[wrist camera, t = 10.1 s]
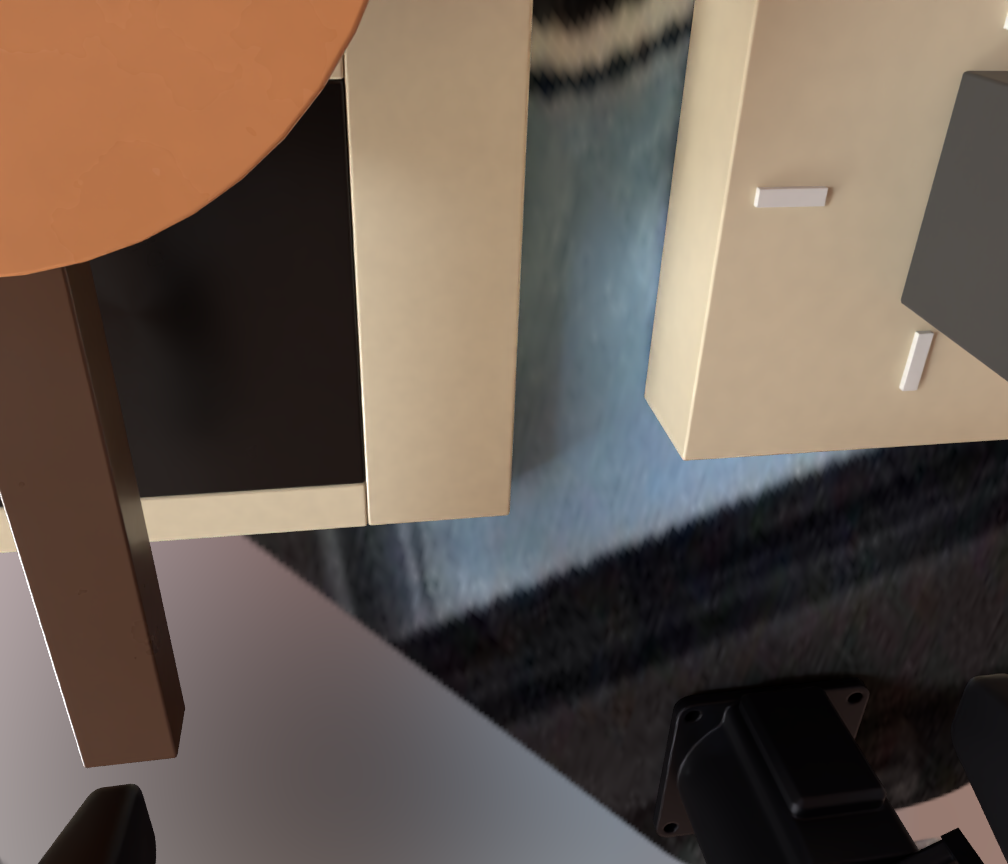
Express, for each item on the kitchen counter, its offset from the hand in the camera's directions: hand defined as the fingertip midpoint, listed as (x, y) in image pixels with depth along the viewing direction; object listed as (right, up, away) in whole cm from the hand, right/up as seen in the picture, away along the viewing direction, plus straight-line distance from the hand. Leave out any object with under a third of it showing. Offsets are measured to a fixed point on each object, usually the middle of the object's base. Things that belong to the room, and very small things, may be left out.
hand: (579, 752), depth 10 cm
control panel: (+8, +10, +11) cm, 17 cm away
